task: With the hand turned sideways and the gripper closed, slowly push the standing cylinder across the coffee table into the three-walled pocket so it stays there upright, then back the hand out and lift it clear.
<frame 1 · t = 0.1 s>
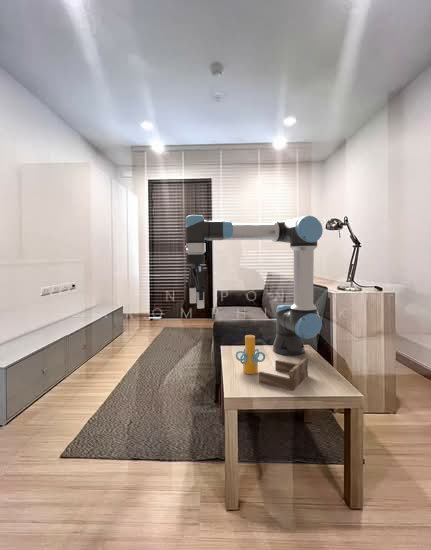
hand: (196, 305, 130), 28 cm above the table, tool pointing down, fingers open, 13 cm apart
pocket: (280, 378, 124), on the table
cylinder: (250, 372, 131), on the table
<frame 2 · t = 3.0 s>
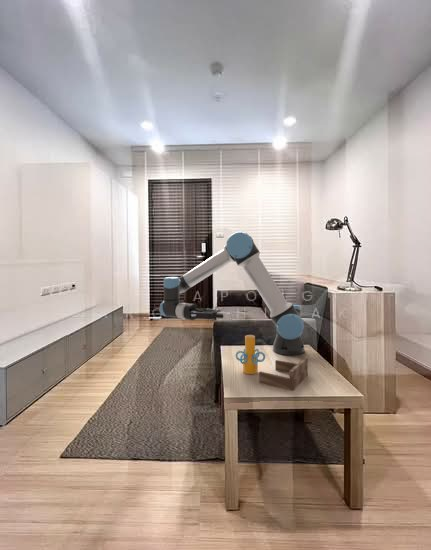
hand: (230, 316, 135), 22 cm above the table, tool horizontal, fingers closed
nothing on the table moved.
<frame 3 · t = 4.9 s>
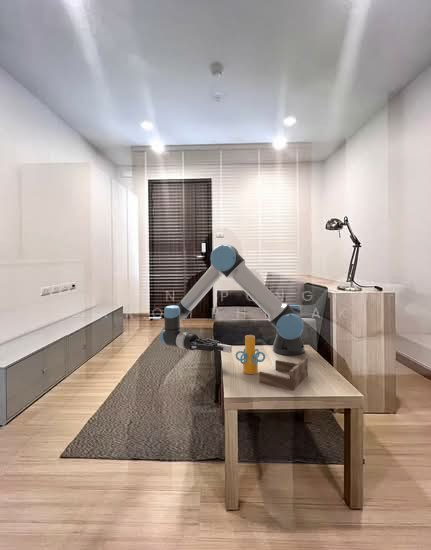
hand: (230, 349, 136), 8 cm above the table, tool horizontal, fingers closed
nothing on the table moved.
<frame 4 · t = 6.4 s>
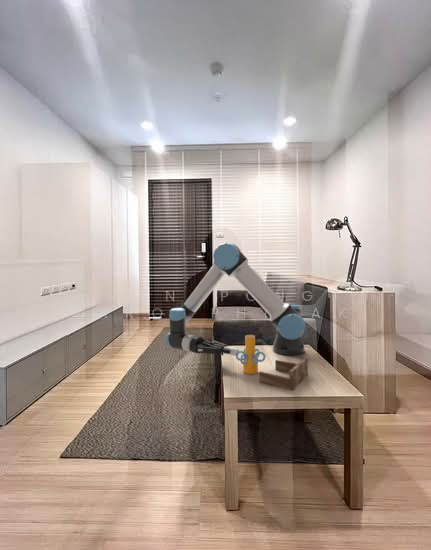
hand: (237, 352, 133), 7 cm above the table, tool horizontal, fingers closed
cylinder: (250, 372, 131), on the table, touching gripper
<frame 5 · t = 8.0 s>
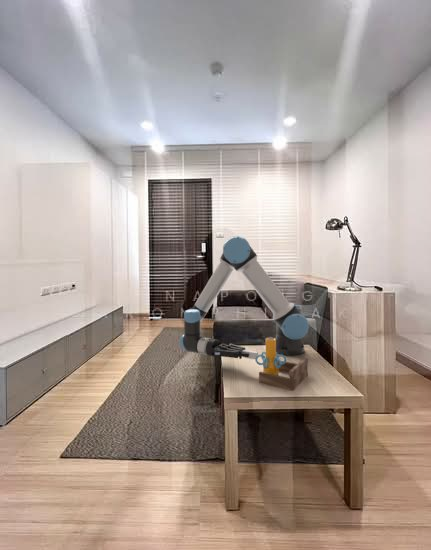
hand: (257, 355, 128), 7 cm above the table, tool horizontal, fingers closed
cylinder: (270, 376, 126), on the table, touching gripper
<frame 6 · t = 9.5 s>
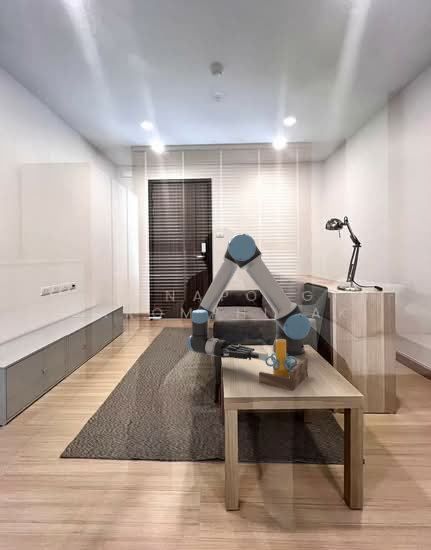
hand: (266, 357, 126), 8 cm above the table, tool horizontal, fingers closed
cylinder: (280, 378, 124), on the table, touching gripper
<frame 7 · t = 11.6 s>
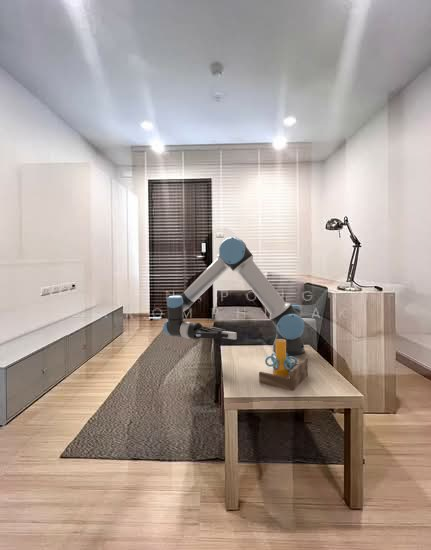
hand: (235, 336, 134), 14 cm above the table, tool horizontal, fingers closed
cylinder: (280, 378, 124), on the table
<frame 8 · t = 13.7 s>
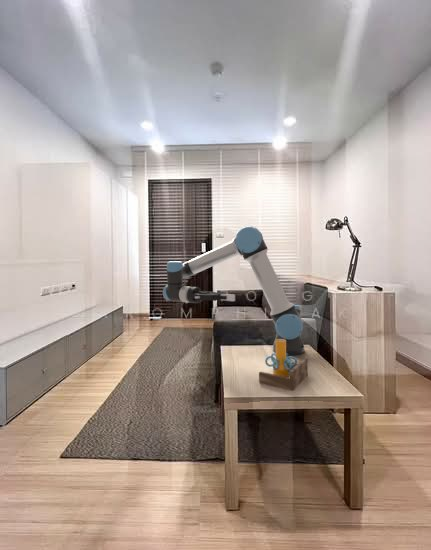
hand: (234, 297, 135), 30 cm above the table, tool horizontal, fingers closed
nothing on the table moved.
at the end: cylinder 0.8 cm from the pocket (horizontally); cylinder tilted 0° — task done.
